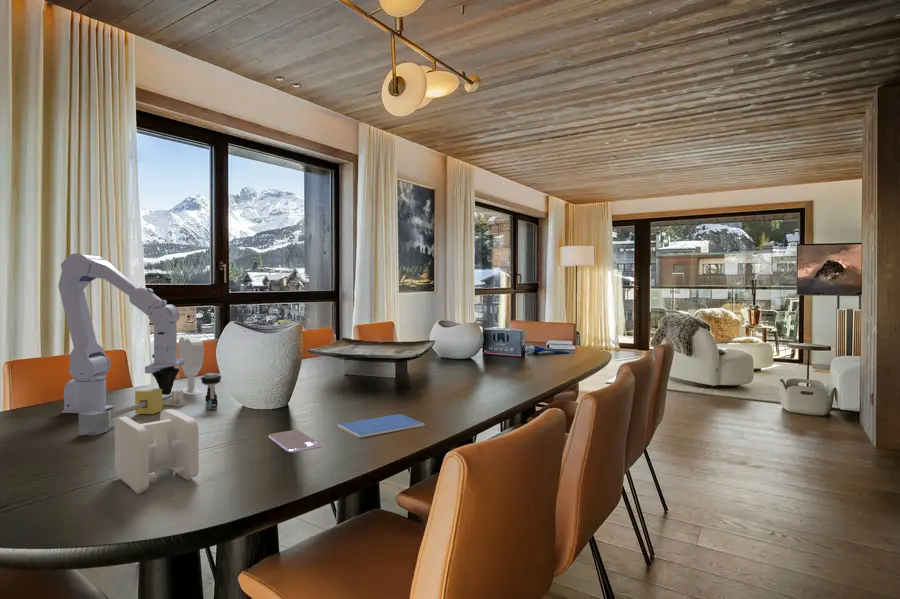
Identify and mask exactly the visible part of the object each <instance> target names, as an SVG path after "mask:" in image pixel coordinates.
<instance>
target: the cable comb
mask: <svg viewBox="0 0 900 599" xmlns="http://www.w3.org/2000/svg"><path fill="white" fill-rule="evenodd" d="M171 392H172V397H171V398H168V399H165V400H163V401H162V405H179V406H178V407H181V406H180V405H182V406H184V405H185V398H184V393H183V390H178V389H174V390H171ZM183 404H184V405H183Z"/></svg>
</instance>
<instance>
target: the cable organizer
mask: <svg viewBox="0 0 900 599" xmlns="http://www.w3.org/2000/svg"><path fill="white" fill-rule="evenodd" d="M199 438H200V437H199V425H198V420H197V421H196V419H195V418H193V417H191V416H189V415H187V414H184V413H183V412H180V411H178V410H176V409H173V408H169V409H168V408H167V409H162V411H160V414H159V420H158V421H157V420H156V421H151V422H146V423H141V424H140V423H139V422H137V421H134V420H133V419H132V418H130V417H128V416H120V417H117V418H115V420H114V468H115V472H116V475H117V477H118V478H119V479H121V481H122V482H123V483H125V484H126V485H127V486H128V487H130V488H131V490H132V491H133V492H135V493H136V494H137V495H140V494H143V492H144V491H147V490H148V489H149V486H150V485H149V484H150V480H155V481H156V482H157V481H158V476H159V475H158V472H161V471H165V470H171V471H172V476H173V478H174V479H175V477H176V474H178V476H180V477H181V478H183V479H185V480H186V481H190V480H192V478H196V477H197V476H198V475H199V471H200V466H199V464H200V460H199V459H200V457H199V455H200V454H199V453H200V452H199V451H200V450H199V449H200V448H199V441H200V439H199Z"/></svg>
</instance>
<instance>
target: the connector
mask: <svg viewBox="0 0 900 599" xmlns="http://www.w3.org/2000/svg"><path fill="white" fill-rule="evenodd" d="M110 412H111V411H110V410H103V411H99V410H91V411H88V412H85V413H77V414H78V415H77V416H78V436H85V435H88V437H90V436H91V437H97V436H99V434H100V435H103V434H105V433H107V431H108V432H109V431H110V425H111V418H110ZM104 432H105V433H104ZM102 433H103V434H102ZM89 435H90V436H89ZM96 435H97V436H96Z"/></svg>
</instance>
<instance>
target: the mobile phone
mask: <svg viewBox="0 0 900 599" xmlns="http://www.w3.org/2000/svg"><path fill="white" fill-rule="evenodd" d="M268 438H269V439H270V440H272V441H273V442H274V443H276V444H277V445H278V446H279V447H280V448H282V449H283V450H284V451H286V452H288V453H298V452H301V451H307V450H311V449H313V450H314V449H317V448H320V447H321V445H322V444H321V443H320V442H318V441H317V440H315V439H314V438H312V437H310V436H309V435H307V434H305V433H304V432H302V431H300V430H299V429H292V430H287V431H281V432H274V433H270V434H269V435H268Z"/></svg>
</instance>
